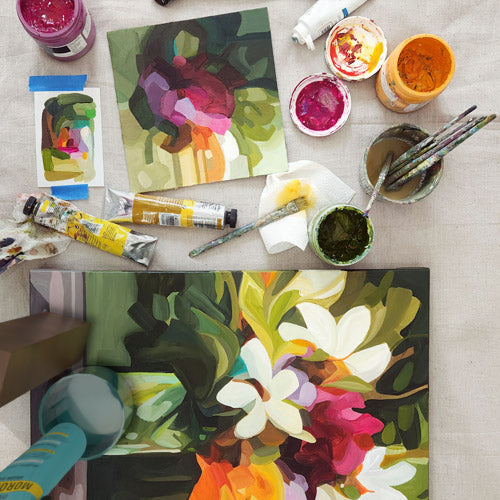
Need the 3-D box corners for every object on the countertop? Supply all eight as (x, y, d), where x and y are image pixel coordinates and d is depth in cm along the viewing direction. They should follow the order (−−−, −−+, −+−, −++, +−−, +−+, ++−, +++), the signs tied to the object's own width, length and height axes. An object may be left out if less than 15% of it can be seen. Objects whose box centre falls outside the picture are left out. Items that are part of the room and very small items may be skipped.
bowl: (45, 435, 69) (29, 449, 64) (65, 356, 69) (50, 363, 64) (123, 455, 69) (112, 470, 64) (142, 375, 69) (134, 384, 64)
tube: (93, 417, 56) (11, 498, 37) (99, 456, 56) (20, 558, 37) (33, 427, 56) (-81, 513, 37) (39, 467, 56) (-71, 573, 37)
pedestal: (36, 349, 69) (-72, 394, 46) (46, 311, 69) (-57, 335, 46) (81, 361, 69) (-4, 410, 46) (90, 322, 69) (10, 352, 46)
